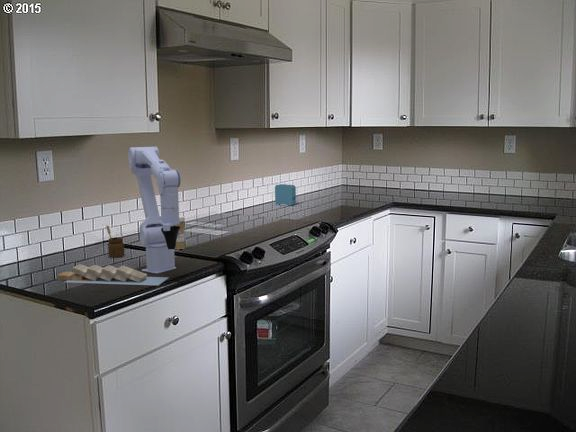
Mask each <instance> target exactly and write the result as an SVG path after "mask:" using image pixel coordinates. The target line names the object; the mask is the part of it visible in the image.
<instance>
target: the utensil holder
mask: <svg viewBox="0 0 576 432" xmlns="http://www.w3.org/2000/svg"><path fill="white" fill-rule="evenodd" d="M106 230H107V233H108V235H109V238H108V245H107V250H108V257H109V258H115V259H116V258H117V259H118V258H123V257H124V256H125V244H124V238H123V236H122V228H118V230H117V231H118V232H117V231H116V233H115V234H116V237H115V236H113V237H112V236H111V234H112V233H111V230H110V226H109V225H106ZM119 230H120V234H119V236H118V233H119ZM122 256H123V257H122Z"/></svg>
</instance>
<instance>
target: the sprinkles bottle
mask: <svg viewBox="0 0 576 432" xmlns="http://www.w3.org/2000/svg"><path fill="white" fill-rule="evenodd" d="M179 220H180V224H177V225H175V226H180V230H179V232H178V235H177V240H176V247H175V249H178V250H177V251H180V250H179V249H183V250H185V249H186V237H185V235H186V232H185V220H186V219H185V216H184V215H179ZM175 249H174V250H175Z"/></svg>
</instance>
